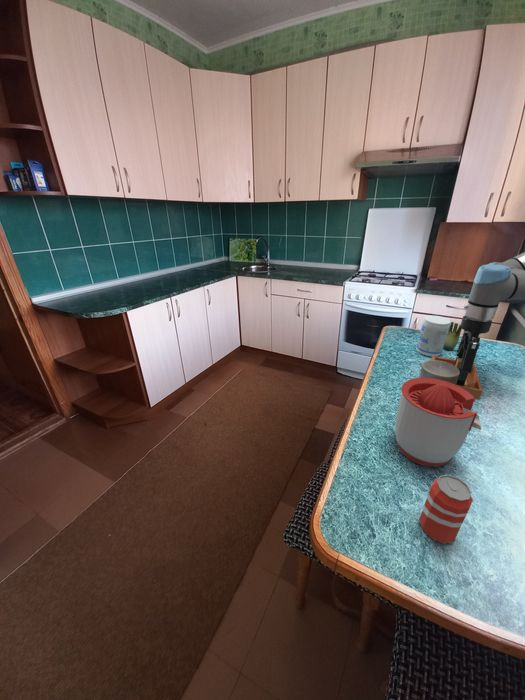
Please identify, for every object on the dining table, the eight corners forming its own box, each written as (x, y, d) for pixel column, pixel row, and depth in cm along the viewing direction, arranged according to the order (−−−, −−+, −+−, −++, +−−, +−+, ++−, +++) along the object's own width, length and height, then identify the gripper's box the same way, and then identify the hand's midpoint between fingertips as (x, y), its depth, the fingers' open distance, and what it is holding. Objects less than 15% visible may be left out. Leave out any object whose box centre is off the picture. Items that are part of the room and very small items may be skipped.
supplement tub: (410, 349, 124) (418, 316, 118) (427, 345, 127) (436, 313, 120) (428, 359, 116) (438, 325, 110) (446, 355, 119) (457, 321, 112)
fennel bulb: (456, 350, 122) (465, 324, 117) (446, 352, 121) (455, 325, 116) (446, 345, 127) (454, 319, 122) (436, 346, 126) (444, 320, 121)
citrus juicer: (467, 488, 64) (499, 417, 55) (384, 459, 72) (400, 392, 63) (464, 442, 76) (489, 378, 67) (393, 421, 84) (407, 361, 75)
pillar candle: (450, 404, 90) (465, 362, 83) (442, 420, 84) (457, 376, 77) (417, 392, 96) (428, 352, 89) (407, 406, 90) (418, 364, 83)
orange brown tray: (471, 370, 108) (474, 363, 106) (479, 399, 92) (482, 391, 91) (430, 363, 113) (432, 355, 112) (431, 389, 98) (433, 381, 96)
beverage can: (446, 515, 59) (464, 473, 53) (460, 548, 53) (482, 506, 48) (415, 510, 60) (429, 470, 54) (425, 543, 54) (442, 501, 48)
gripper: (460, 306, 98) (442, 364, 108) (467, 327, 82) (445, 394, 92) (487, 309, 95) (466, 368, 105) (499, 331, 78) (473, 400, 89)
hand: (456, 380), depth 99 cm, fingers closed on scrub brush, 8 cm apart
